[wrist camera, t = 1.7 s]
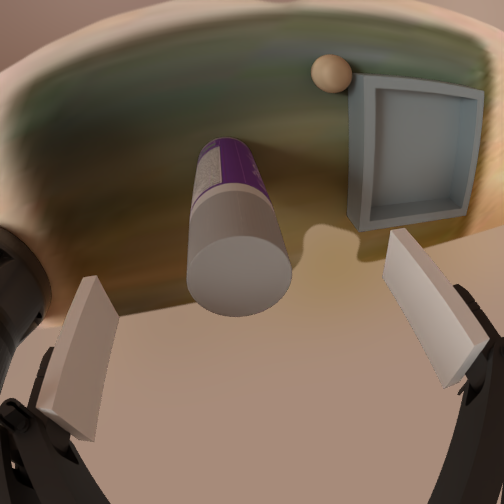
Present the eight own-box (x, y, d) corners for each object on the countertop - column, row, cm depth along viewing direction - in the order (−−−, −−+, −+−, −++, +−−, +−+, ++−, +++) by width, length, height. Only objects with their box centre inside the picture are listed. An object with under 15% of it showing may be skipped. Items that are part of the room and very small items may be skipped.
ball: (307, 91, 22) (320, 96, 19) (304, 54, 20) (316, 54, 17) (343, 90, 22) (359, 95, 19) (341, 54, 20) (358, 55, 17)
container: (264, 160, 25) (317, 273, 13) (227, 197, 27) (243, 331, 15) (223, 125, 23) (235, 210, 11) (186, 166, 24) (161, 287, 12)
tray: (346, 215, 29) (358, 232, 27) (347, 72, 21) (363, 75, 18) (450, 202, 30) (465, 215, 27) (464, 85, 21) (484, 91, 19)
